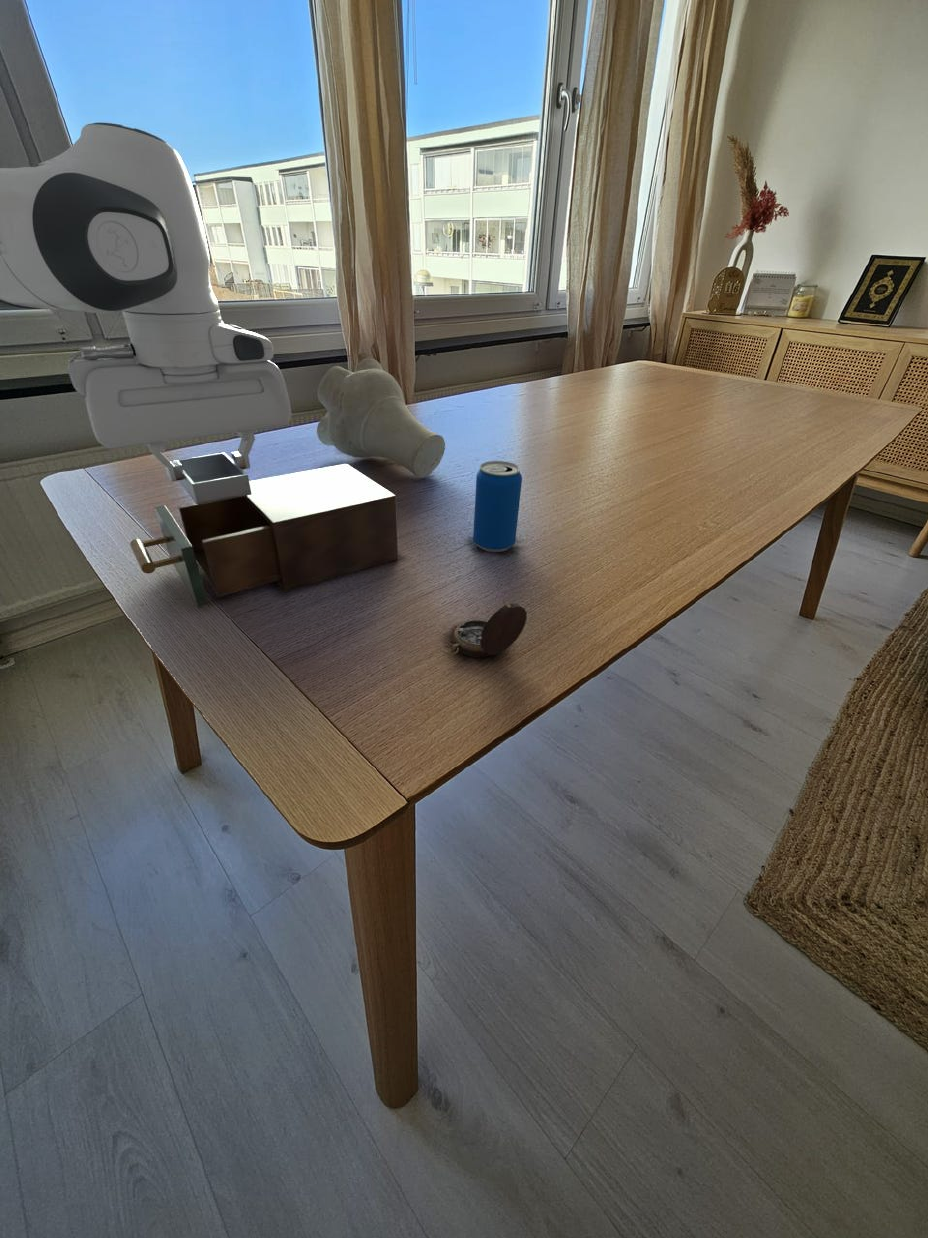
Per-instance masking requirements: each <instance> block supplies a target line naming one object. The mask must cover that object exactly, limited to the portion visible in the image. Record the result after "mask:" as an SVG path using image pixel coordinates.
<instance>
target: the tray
mask: <svg viewBox="0 0 928 1238" xmlns="http://www.w3.org/2000/svg"><path fill="white" fill-rule="evenodd" d="M233 460H234V459H233V458H232V457H230V456H229V455H228V454H227V453H226V452H220V453H212V454H206V455H199V456H192V457H185V458H178V459H172V461H179V463H180V464H181V465H182V468H183V474H184V477H185V479H183V480H178V482H179V484H180V485H181V486H182V487H183V488H184V490H185V492H187V493H188V495H189V497H190V498H191V499H192V500H193V501H194V503H196V504H197V505H200V504H205V503H211V502H216V501H221V500H226V499H231V498H236V497H241V496H247V495H252V493H251V488H250V483H249V481H250V480H249V478H250V477H249V474H248V473H247V472H246V471H244V470H242V469H241V468H240V467H239V466H238V465H237V464H236V463H235V462H234V461H233Z"/></svg>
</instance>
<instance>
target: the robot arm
mask: <svg viewBox="0 0 928 1238" xmlns="http://www.w3.org/2000/svg"><path fill="white" fill-rule="evenodd" d="M37 165H38V166H22V167H0V309H2V310H32V309H33V310H36V309H45V310H54V311H61V312H65V311H66V312H79V313H80V312H81V313H91V314H112V313H117V312H119V311H121V313H122V316H123V320H124V324H125V326H126V330H127V335H128V338H129V341H130V344H117V345H116V344H115V345H108V346H97V347H96V346H83V347H80V348H79V349H78V350H79V351H77V352H75V353H73V354H72V355H70V357H69V358H68V360H67V363H66V370H67V373H68V375H69V379H70V382H71V384H72V386H73V389H75V391H76V392H77V393H78V394H79V395H80V396H82V397H83V398H84V401H85V406H86V411H87V416H88V420H89V422H90V426H91V429H92V432H93V435H94V438H95V439H96V441H97V442H98V443H99V444H101V445H102V446H104V447H106V448H107V449H110V450H114V449H115V450H116V449H121V448H122V449H123V448H129V447H137V446H144V445H145V446H146V445H147V447H148V450H149V451H150V452H151V454H152V455H153V456H154V457H155V458H156V459H158V461H159V462H160V463H161V464H162V465H163V466H164V468H165V470H166V474H167V476H168V479H169V481H170V482H179V480H183V479H185V477H184V474H183V468H182V465H181V464H180V463H179V461H173V460H172V461H171V460H170V459H169V458H168V457H166V455H165V454H163V453H166V452H167V449H166V445H165V443H167V442H174V441H181V440H189V439H195V438H204V437H211V436H219V435H227V434H233V433H236V435H237V436H238V437H239V438H240V439H241V440H240V443H239V446H238V449H237V451H231V452H230V454H231V459H232V460H233V461H234V462H235V463H236V464H237V465H238V466H239V467H240V468H241V469H242V470H243V471H244V470H249V469H251V463H250V459H249V458H250V457H249V455H250V453H251V451H252V448H253V445H254V443H255V441H256V438H255V432H254V430H255V431H256V430H263V429H264V430H265V429H270V428H278V427H279V428H280V427H285V426H287V425H288V424H289V422H290V420H291V418H292V407H291V402H290V401H291V400H290V397H289V392H288V389H287V388H288V387H287V384H286V381H285V378H284V375H283V373H282V371H281V369H280V368H279V366H278V365H276V364H275V362H272V361H271V360H272V359H273V358H274V351H275V350H274V345H273V343H272V341H271V340H270V339H268V338H267V337H266V336H264V335H261V334H259V333H256V332H253V331H252V330H251V331H250V330H246V329H245V328H242V327H240V326H238V325H235V324H231V323H229V324H227V323H224V321H223V319H222V315H221V310H220V305H219V302H218V299H217V298H216V296H215V294H214V291H213V287H212V285H211V280H210V279H211V278H210V263H211V261H210V253H209V248H208V243H207V238H206V237H207V236H206V232H205V227H204V223H203V219H202V215H201V211H200V206H199V203H198V200H197V197H196V193H195V189H194V187H193V183H192V181H191V178H190V175H189V173H188V171H187V168H186V166H185V164H184V162H183V160H182V157H181V156H180V154H179V153H178V151H177V150H176V149H175V148H174V147H172V146H171V145H170V144H169V143H168V142H167V141H165V140H163V139H162V138H160V137H158V136H156V135H155V134H152V133H150V132H147V131H145V130H142V129H139V128H136V127H135V128H132V127H129V126H124V125H122V124H119V123H112V122H93V123H88V124H85V125H84V126H83V127H82V128H81V131H80V136H79V138H78V139H77V140H76V141H75V142H74V143H73V145H71V146H70V147H69V148H68V149H66V150H65V151H63V152H62V153H60V154H58V155H56V156H54V157H52V158H50V159H48V160H45V161H42V162H39V163H38V164H37ZM79 358H82V359H79Z"/></svg>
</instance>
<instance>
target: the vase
mask: <svg viewBox="0 0 928 1238" xmlns="http://www.w3.org/2000/svg"><path fill="white" fill-rule="evenodd" d="M404 396H405V395H404V393H403V390H402V388H401V386H400V384H399V382H398V381H397V380H396V379H395V377H394V376H393V375H391V374H390V373H389V372H388V371H386V370H384V369H383V368H382V365H381V363H379V362H378V360H377V359H374V358H364V359H361V361H359V362H358V363H357V365H356V366H355V369H354V371H350V370H348V369H345V368H343V367H342V366H339V365H336V366H331V368H329V369H328V370H327V371H326V372H325V374H324V375H323V377H322V378H321V380H320V382H319V385H318V388H317V399H318V401H319V403H320V404H321V405H322V406H323V407H324V408H325V410H326V411H327V413H326V414H325V415H324V416H323V417H322V418H321V419H320V420H319V422H318V423H317V427H316V435H317V437H318V439H319V441H320V442H321V444H323V445H324V446H327V447H334V448H336V450H338V451H339V452H340V453H342V454H344V455H347V456H350V457H353V458H359V459H360V458H361V459H363V458H371V457H376V458H383V459H387V460H390V461H392V462H394V463H396V464H398V465H399V466H401V467H403V468H405V469H406V470H408V471H409V472H410V473H411V474H413V475H414V476H415V477H417V478H418V479H422V478H426V477H428V476H430V475H431V474H432V473H433V472H434V471H435V469H437V467H438V466H439V465H440V463H441V461H442V459H443V457H444V453H445V451H446V450H445V449H446V442H445V439H444V437H443V436H442V435H440V434H438V433H436V432H434V431H432V430H430V429H429V428H428V427H426V426H425V425H423V424H422V423H421V422H419V421H418V419H416V418H415V417H414V416H413V414H412V413H411V412H410V411H409V409H408V407H407V403H406V402H405V397H404Z"/></svg>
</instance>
